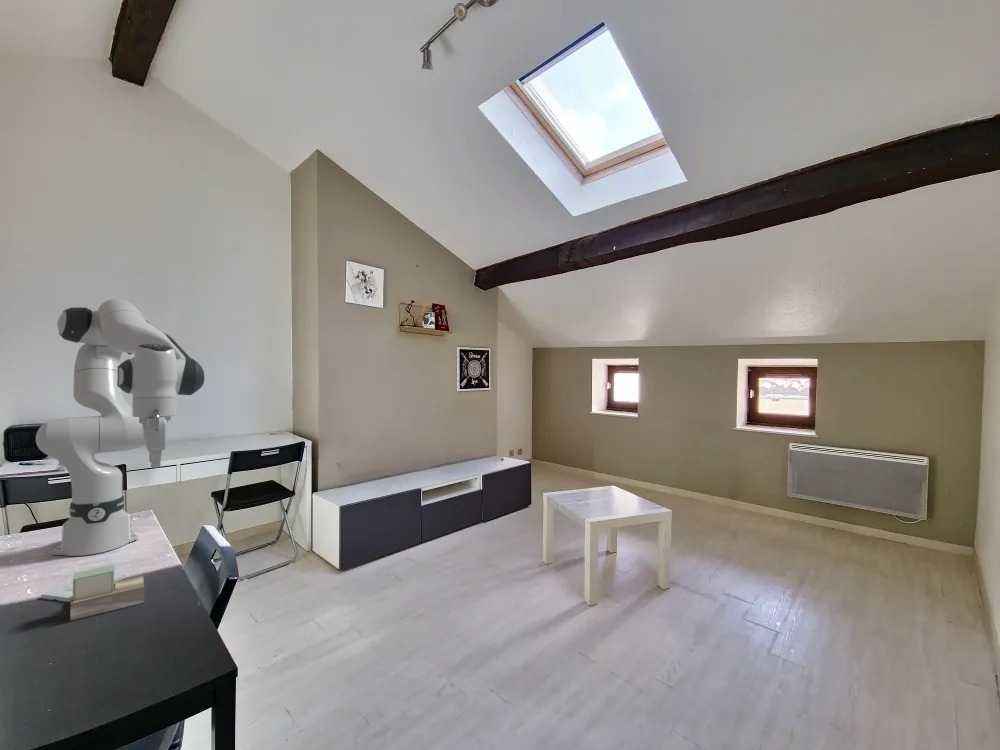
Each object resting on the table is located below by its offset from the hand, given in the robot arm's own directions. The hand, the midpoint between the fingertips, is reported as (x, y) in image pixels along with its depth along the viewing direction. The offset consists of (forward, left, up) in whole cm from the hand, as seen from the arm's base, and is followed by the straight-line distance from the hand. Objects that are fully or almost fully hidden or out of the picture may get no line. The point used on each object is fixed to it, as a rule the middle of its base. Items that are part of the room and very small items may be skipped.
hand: (154, 464), depth 110 cm
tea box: (+8, -10, -27) cm, 30 cm away
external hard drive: (-6, -13, -30) cm, 33 cm away
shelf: (+5, -8, -29) cm, 31 cm away
